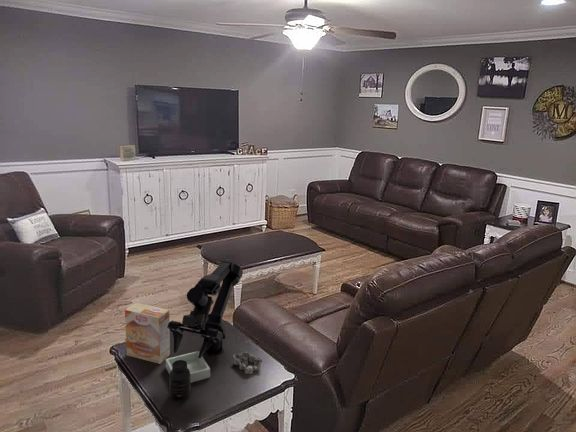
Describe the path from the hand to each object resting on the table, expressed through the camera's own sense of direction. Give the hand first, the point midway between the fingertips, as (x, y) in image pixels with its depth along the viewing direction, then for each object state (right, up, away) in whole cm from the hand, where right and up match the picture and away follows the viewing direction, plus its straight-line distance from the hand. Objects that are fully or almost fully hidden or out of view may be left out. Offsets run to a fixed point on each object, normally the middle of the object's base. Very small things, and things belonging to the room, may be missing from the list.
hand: (186, 355), depth 149 cm
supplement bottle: (-2, -13, -2) cm, 13 cm away
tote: (-2, -9, +10) cm, 13 cm away
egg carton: (+19, -9, +16) cm, 26 cm away
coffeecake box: (-19, -6, +19) cm, 27 cm away
